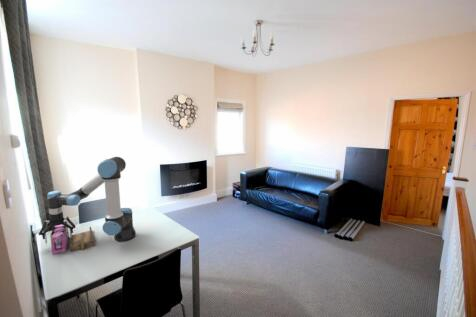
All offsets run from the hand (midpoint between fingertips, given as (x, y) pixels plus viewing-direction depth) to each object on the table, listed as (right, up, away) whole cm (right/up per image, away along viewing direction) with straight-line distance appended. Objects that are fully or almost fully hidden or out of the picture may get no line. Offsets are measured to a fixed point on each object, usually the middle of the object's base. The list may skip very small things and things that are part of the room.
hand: (58, 240), depth 166 cm
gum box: (+1, -4, +1) cm, 5 cm away
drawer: (+12, -3, +7) cm, 14 cm away
